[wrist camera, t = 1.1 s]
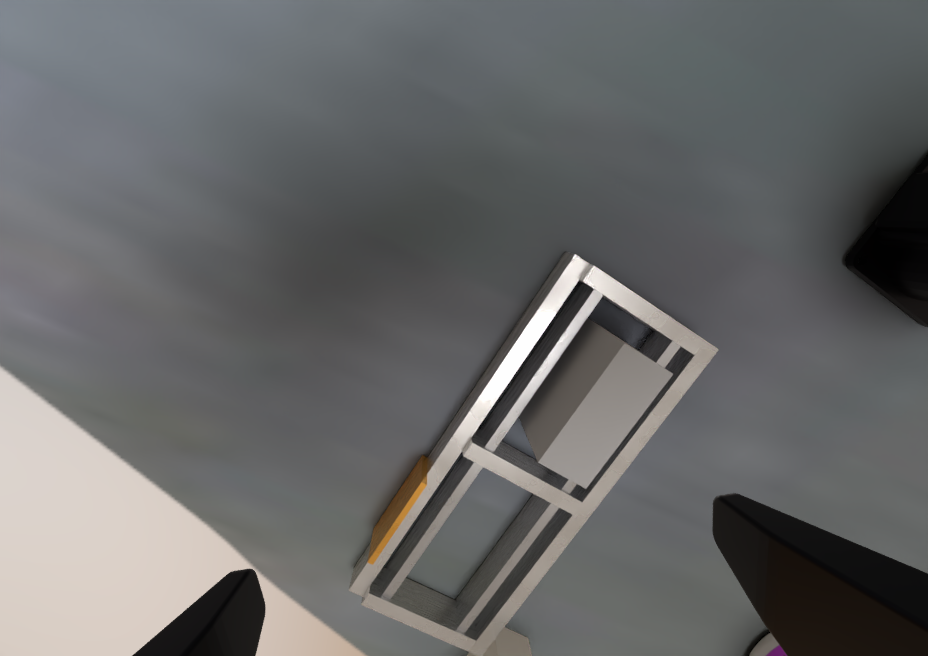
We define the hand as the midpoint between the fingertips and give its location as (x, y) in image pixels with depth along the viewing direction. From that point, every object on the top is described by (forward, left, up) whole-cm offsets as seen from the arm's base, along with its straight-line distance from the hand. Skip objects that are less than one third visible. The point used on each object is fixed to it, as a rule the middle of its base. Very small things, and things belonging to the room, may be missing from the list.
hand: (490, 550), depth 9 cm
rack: (-6, +3, -13) cm, 15 cm away
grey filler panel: (-6, -2, -14) cm, 15 cm away
